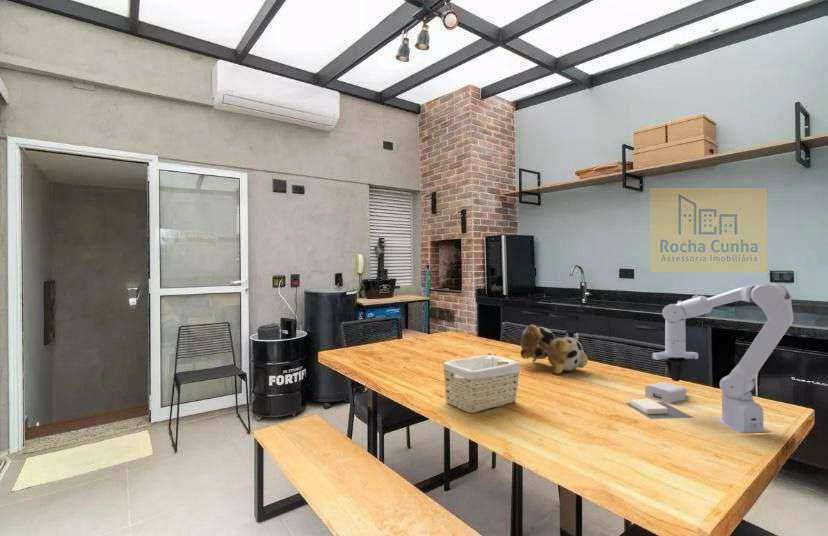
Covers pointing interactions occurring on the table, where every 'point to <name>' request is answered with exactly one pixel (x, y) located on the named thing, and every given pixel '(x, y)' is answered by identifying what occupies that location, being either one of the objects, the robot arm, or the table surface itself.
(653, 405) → the tile
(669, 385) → the charger
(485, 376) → the object
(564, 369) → the toy
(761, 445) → the table surface
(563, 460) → the table surface
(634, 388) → the table surface
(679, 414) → the mat
